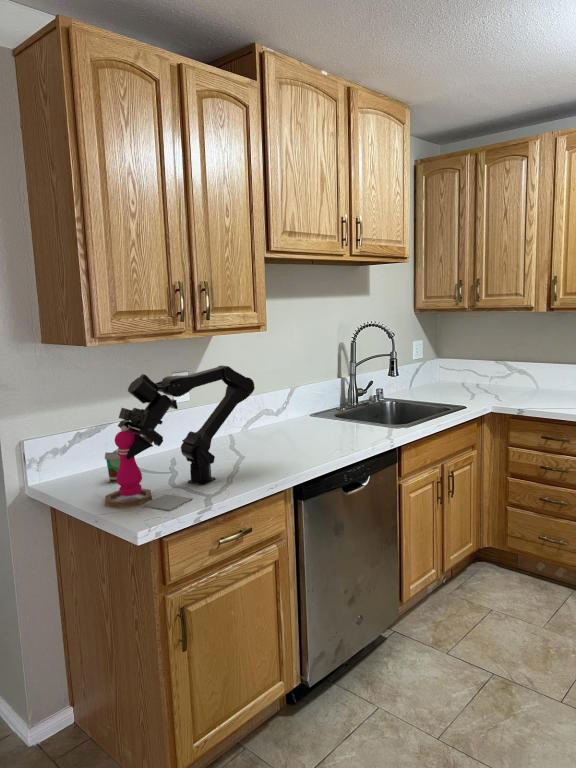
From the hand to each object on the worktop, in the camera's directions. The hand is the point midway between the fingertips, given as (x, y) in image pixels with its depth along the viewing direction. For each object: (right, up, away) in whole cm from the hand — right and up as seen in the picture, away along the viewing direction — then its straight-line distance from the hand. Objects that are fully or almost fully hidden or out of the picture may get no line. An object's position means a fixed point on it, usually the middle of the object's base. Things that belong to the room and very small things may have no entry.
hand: (122, 456), depth 171 cm
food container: (-6, -10, +25) cm, 27 cm away
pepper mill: (+2, -11, +3) cm, 11 cm away
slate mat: (+13, -13, -1) cm, 19 cm away
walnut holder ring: (+1, -13, +3) cm, 13 cm away
